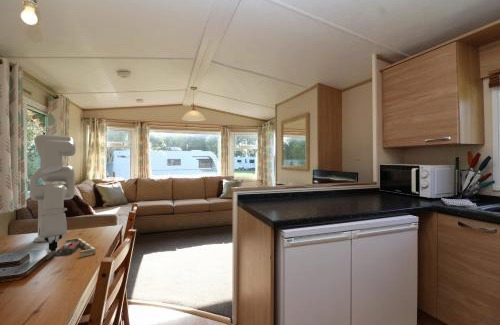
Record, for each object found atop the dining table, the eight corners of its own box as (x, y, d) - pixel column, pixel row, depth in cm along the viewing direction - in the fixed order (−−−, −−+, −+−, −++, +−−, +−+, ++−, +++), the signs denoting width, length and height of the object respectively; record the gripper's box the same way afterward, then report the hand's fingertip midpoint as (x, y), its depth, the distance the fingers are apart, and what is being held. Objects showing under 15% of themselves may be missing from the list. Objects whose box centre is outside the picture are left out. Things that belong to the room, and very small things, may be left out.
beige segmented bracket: (65, 244, 131) (65, 239, 131) (79, 242, 136) (79, 237, 136) (80, 257, 113) (80, 251, 113) (95, 253, 118) (95, 248, 118)
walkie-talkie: (61, 248, 127) (43, 262, 108) (61, 239, 127) (43, 252, 108) (81, 246, 130) (67, 260, 111) (81, 238, 130) (67, 250, 111)
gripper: (70, 208, 125) (69, 245, 125) (31, 213, 114) (30, 252, 113) (74, 210, 120) (74, 248, 120) (34, 215, 109) (33, 256, 108)
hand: (52, 250), depth 116 cm, fingers closed
